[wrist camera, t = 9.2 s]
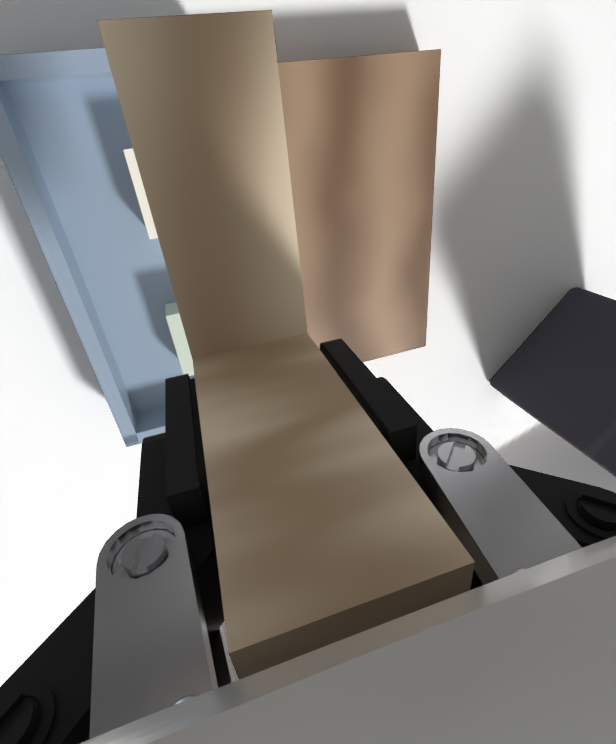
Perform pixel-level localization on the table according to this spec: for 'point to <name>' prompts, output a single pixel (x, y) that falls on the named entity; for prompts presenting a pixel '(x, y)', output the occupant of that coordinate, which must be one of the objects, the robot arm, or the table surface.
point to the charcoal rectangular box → (570, 375)
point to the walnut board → (363, 194)
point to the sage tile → (179, 338)
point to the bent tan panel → (267, 355)
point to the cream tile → (140, 192)
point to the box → (91, 224)
